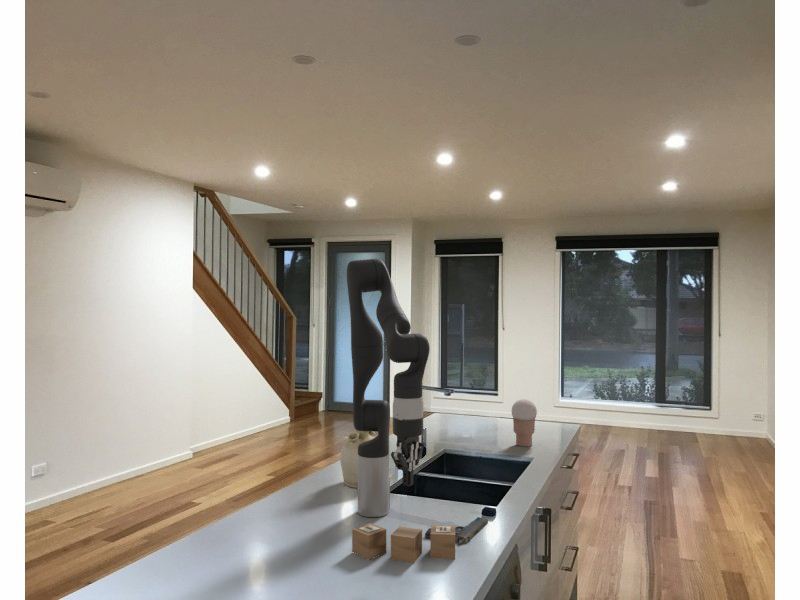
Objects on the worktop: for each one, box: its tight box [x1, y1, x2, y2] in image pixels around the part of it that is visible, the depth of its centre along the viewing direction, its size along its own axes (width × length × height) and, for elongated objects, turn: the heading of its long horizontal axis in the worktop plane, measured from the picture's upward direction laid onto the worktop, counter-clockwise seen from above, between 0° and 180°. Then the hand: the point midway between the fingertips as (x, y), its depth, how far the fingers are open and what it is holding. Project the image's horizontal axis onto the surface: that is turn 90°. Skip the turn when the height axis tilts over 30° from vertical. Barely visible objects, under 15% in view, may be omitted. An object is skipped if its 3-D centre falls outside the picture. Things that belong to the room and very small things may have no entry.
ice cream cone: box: [511, 398, 538, 447], centre depth 268 cm, size 11×11×20 cm
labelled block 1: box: [351, 522, 387, 560], centre depth 152 cm, size 6×6×6 cm
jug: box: [339, 423, 376, 489], centre depth 210 cm, size 15×16×25 cm
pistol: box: [424, 516, 489, 545], centre depth 167 cm, size 2×19×12 cm
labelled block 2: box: [429, 524, 456, 560], centre depth 152 cm, size 6×6×6 cm
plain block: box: [390, 525, 423, 564], centre depth 150 cm, size 6×6×6 cm
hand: (407, 485), depth 150 cm, fingers closed
